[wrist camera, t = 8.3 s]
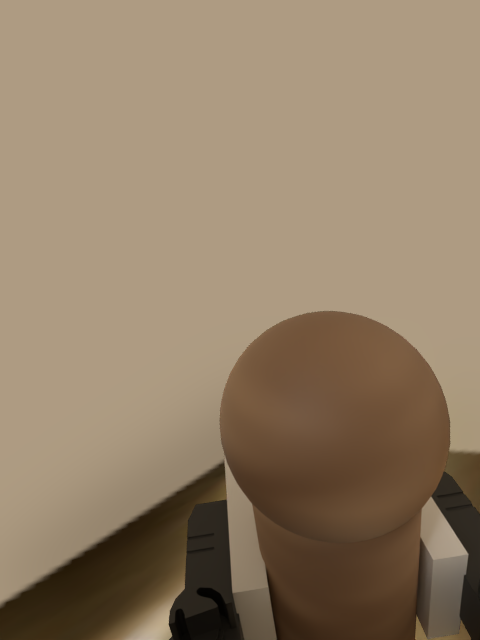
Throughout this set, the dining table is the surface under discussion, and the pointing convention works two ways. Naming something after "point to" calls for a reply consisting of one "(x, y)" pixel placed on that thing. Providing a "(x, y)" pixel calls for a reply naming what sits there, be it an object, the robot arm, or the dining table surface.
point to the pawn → (337, 470)
